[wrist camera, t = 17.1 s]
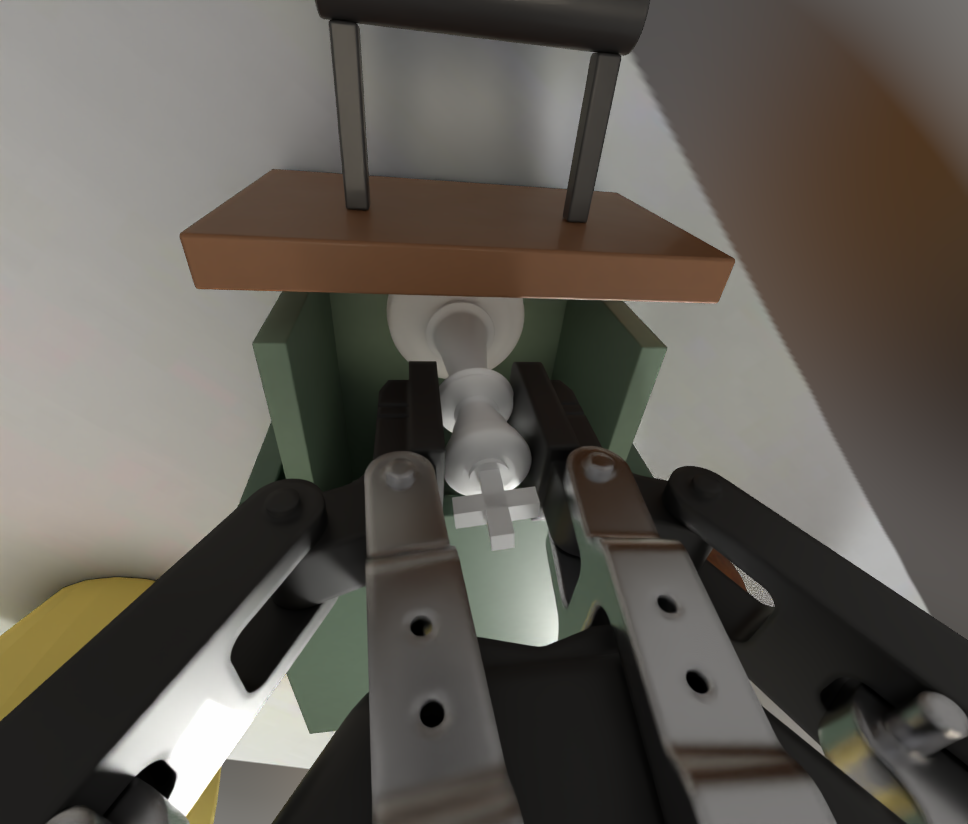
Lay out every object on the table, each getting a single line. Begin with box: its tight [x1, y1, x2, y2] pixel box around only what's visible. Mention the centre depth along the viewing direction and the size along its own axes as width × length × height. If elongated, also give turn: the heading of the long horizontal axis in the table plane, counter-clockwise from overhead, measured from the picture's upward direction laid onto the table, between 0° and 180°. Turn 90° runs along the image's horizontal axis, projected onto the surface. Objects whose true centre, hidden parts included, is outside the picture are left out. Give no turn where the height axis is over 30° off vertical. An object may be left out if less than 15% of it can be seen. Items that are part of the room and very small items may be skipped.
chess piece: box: [386, 294, 540, 551], centre depth 12 cm, size 5×5×10 cm
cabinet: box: [237, 421, 654, 734], centre depth 22 cm, size 16×14×10 cm
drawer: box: [180, 0, 735, 495], centre depth 16 cm, size 20×13×8 cm, turn 175°
